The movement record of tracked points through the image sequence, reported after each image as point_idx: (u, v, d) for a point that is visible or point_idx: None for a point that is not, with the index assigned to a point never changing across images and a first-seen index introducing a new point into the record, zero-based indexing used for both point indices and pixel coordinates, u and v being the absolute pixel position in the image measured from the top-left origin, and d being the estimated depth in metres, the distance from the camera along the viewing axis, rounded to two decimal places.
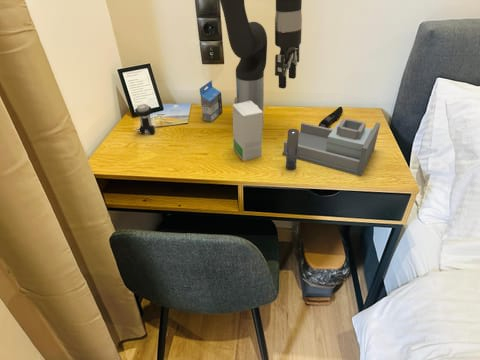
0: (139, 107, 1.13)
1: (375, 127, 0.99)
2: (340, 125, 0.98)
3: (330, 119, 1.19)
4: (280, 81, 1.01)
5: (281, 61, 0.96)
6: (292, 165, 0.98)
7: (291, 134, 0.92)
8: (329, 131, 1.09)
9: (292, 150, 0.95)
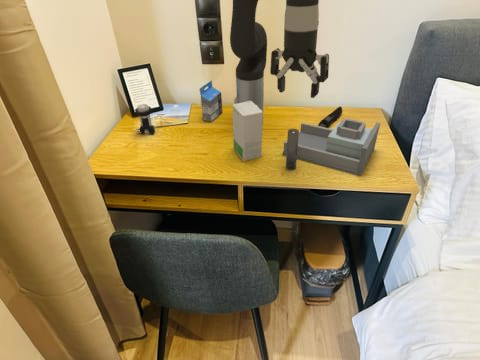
0: (139, 107, 1.13)
1: (375, 127, 0.99)
2: (340, 125, 0.98)
3: (330, 119, 1.19)
4: (317, 88, 0.83)
5: (328, 61, 0.79)
6: (292, 165, 0.98)
7: (291, 134, 0.92)
8: (329, 131, 1.09)
9: (292, 150, 0.95)
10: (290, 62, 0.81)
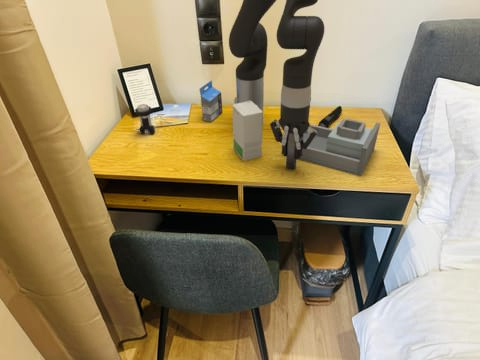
0: (139, 107, 1.13)
1: (375, 127, 0.99)
2: (340, 125, 0.98)
3: (330, 118, 1.19)
4: (301, 152, 0.95)
5: (315, 135, 0.91)
6: (292, 165, 0.98)
7: (291, 134, 0.92)
8: (329, 131, 1.09)
9: (292, 150, 0.95)
10: (286, 129, 0.92)
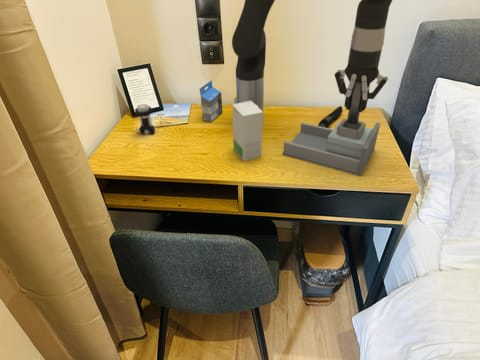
0: (139, 107, 1.13)
1: (375, 127, 0.99)
2: (340, 125, 0.98)
3: (330, 119, 1.19)
4: (366, 104, 0.92)
5: None
6: (355, 119, 0.95)
7: (358, 83, 0.89)
8: (329, 131, 1.09)
9: (357, 101, 0.92)
10: (354, 78, 0.88)
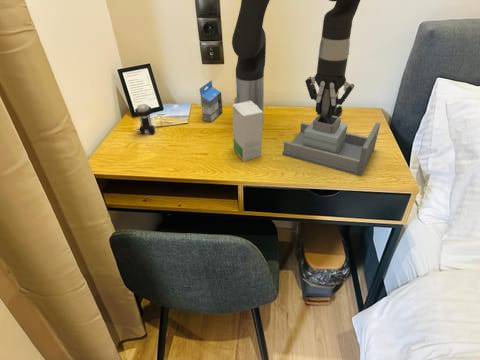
0: (139, 107, 1.13)
1: (375, 127, 0.99)
2: (316, 120, 1.01)
3: None
4: (335, 109, 0.97)
5: None
6: None
7: (327, 90, 0.94)
8: None
9: (326, 106, 0.97)
10: (323, 85, 0.93)
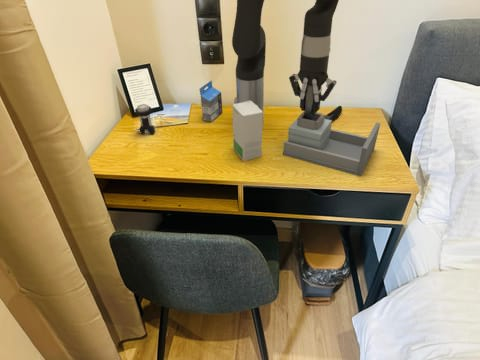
0: (139, 107, 1.13)
1: (375, 127, 0.99)
2: (300, 116, 1.03)
3: (329, 118, 1.20)
4: (318, 105, 0.99)
5: (333, 87, 0.95)
6: (309, 119, 1.02)
7: (310, 86, 0.96)
8: None
9: (310, 103, 0.99)
10: (305, 81, 0.95)
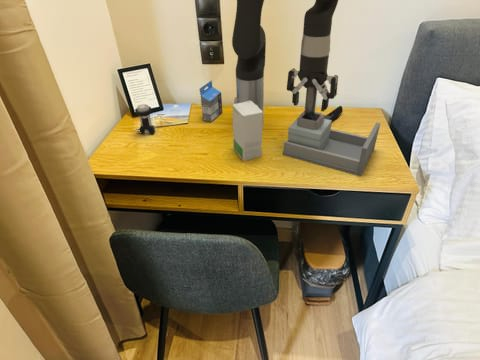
0: (139, 107, 1.13)
1: (375, 127, 0.99)
2: (300, 116, 1.03)
3: (329, 118, 1.20)
4: (327, 103, 0.98)
5: (337, 81, 0.94)
6: None
7: (310, 88, 0.96)
8: None
9: (310, 104, 0.99)
10: (304, 81, 0.96)
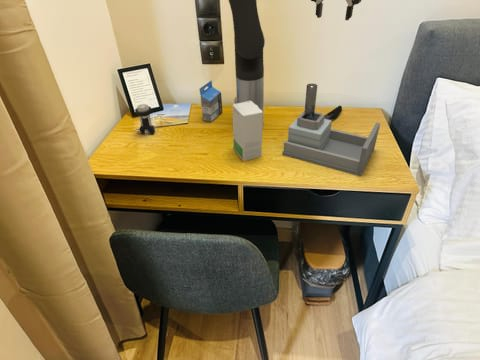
0: (139, 107, 1.13)
1: (375, 127, 0.99)
2: (300, 116, 1.03)
3: (328, 117, 1.20)
4: (351, 11, 0.98)
5: None
6: None
7: (310, 88, 0.96)
8: None
9: (310, 104, 0.99)
10: None
